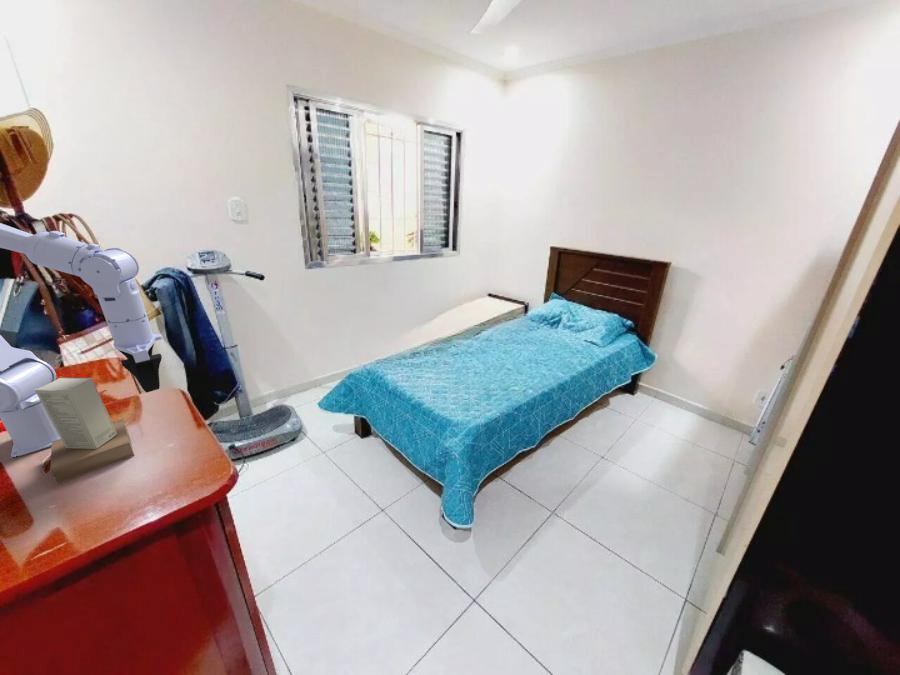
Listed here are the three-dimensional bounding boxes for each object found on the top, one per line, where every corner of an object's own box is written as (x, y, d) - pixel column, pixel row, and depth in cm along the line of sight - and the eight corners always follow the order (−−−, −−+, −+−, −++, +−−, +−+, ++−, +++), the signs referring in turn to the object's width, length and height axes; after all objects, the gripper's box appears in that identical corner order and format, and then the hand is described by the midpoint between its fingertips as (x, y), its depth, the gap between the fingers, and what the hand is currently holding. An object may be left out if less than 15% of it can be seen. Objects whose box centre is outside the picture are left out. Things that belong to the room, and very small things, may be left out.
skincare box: (118, 434, 68) (95, 377, 63) (96, 450, 64) (69, 390, 59) (86, 433, 68) (61, 376, 63) (62, 449, 64) (32, 389, 59)
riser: (58, 454, 67) (51, 441, 66) (128, 431, 73) (123, 419, 72) (57, 484, 60) (50, 469, 59) (134, 455, 67) (129, 442, 66)
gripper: (160, 322, 64) (181, 389, 69) (149, 304, 73) (168, 364, 78) (107, 332, 59) (134, 403, 64) (102, 312, 69) (125, 375, 74)
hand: (149, 382), depth 71 cm, fingers open, 7 cm apart
